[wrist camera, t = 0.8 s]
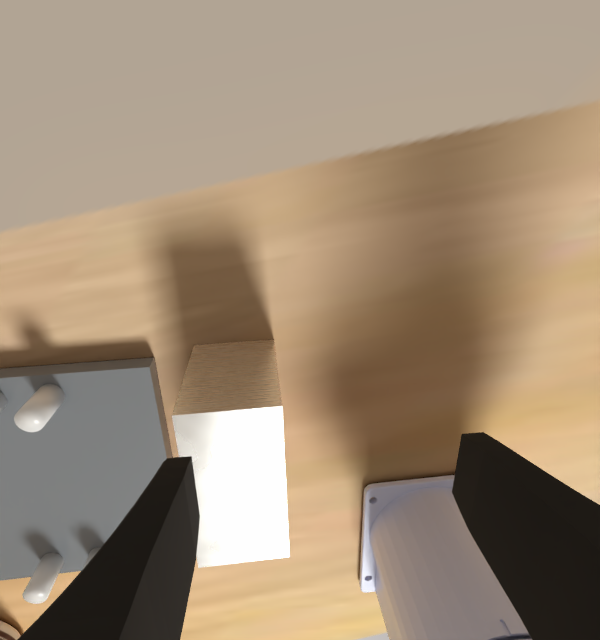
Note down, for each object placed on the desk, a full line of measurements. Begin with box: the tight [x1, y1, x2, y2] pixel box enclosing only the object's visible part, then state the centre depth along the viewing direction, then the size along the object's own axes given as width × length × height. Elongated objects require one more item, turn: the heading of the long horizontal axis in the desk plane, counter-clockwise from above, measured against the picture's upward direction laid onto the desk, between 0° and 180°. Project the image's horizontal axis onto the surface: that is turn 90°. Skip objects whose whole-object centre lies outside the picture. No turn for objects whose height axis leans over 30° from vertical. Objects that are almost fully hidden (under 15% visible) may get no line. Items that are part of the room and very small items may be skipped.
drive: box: [172, 340, 289, 568], centre depth 19 cm, size 8×4×6 cm, turn 2°
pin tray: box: [0, 357, 173, 604], centre depth 20 cm, size 13×12×3 cm
